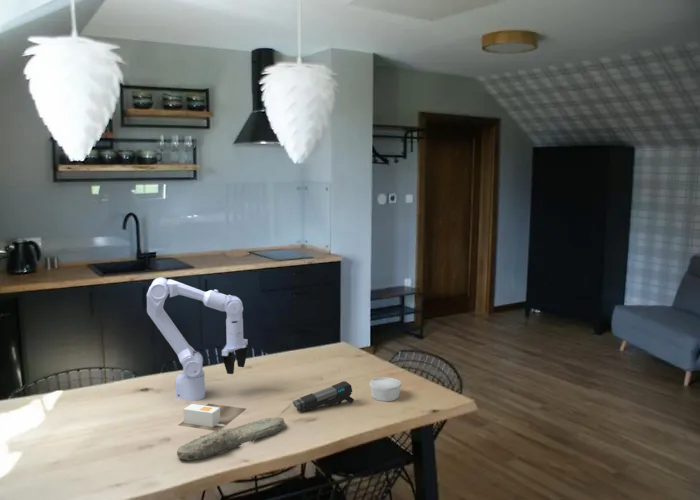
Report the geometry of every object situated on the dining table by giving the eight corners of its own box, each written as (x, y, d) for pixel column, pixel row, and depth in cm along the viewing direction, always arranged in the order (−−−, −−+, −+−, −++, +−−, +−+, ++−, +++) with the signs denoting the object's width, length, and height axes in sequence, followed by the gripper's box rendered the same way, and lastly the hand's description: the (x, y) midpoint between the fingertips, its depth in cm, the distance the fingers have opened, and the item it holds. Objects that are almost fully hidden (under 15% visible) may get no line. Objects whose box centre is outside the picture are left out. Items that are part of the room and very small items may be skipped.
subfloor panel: (178, 428, 183) (177, 424, 183) (208, 406, 201) (208, 403, 200) (218, 434, 179) (218, 431, 179) (246, 411, 196) (246, 408, 196)
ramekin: (391, 389, 217) (391, 375, 217) (407, 399, 207) (407, 385, 207) (363, 394, 212) (363, 379, 212) (378, 405, 203) (378, 390, 202)
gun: (357, 402, 204) (348, 377, 201) (306, 431, 196) (296, 405, 194) (351, 398, 208) (342, 373, 205) (301, 426, 200) (291, 401, 198)
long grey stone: (293, 435, 183) (274, 426, 190) (293, 418, 182) (274, 410, 190) (187, 466, 159) (170, 455, 166) (187, 447, 159) (170, 437, 166)
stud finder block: (184, 423, 185) (183, 408, 184) (192, 417, 189) (191, 403, 188) (212, 427, 182) (212, 412, 181) (220, 421, 186) (219, 407, 185)
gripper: (234, 338, 199) (235, 378, 200) (254, 327, 212) (255, 364, 214) (215, 336, 201) (217, 375, 203) (237, 326, 214) (238, 362, 216)
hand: (235, 370), depth 208 cm, fingers open, 7 cm apart
